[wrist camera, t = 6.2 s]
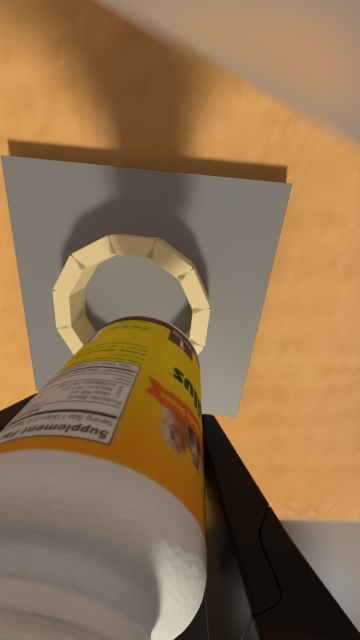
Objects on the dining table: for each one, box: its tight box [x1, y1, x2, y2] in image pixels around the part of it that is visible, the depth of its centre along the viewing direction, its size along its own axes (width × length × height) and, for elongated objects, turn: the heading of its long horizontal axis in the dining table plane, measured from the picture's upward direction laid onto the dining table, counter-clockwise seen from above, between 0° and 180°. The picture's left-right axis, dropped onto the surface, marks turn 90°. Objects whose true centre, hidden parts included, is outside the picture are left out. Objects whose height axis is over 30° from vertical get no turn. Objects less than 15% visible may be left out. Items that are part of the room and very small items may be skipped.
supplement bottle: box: [0, 315, 207, 640], centre depth 7 cm, size 6×6×10 cm
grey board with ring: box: [1, 155, 292, 418], centre depth 19 cm, size 20×20×4 cm
